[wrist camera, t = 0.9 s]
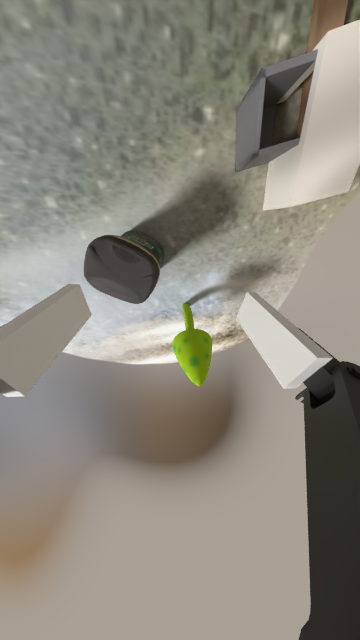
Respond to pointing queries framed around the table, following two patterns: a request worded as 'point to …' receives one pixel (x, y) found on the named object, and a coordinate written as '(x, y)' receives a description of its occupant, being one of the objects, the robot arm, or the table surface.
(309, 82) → the rod
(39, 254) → the table surface
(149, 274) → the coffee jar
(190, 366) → the mushroom
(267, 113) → the tunnel
